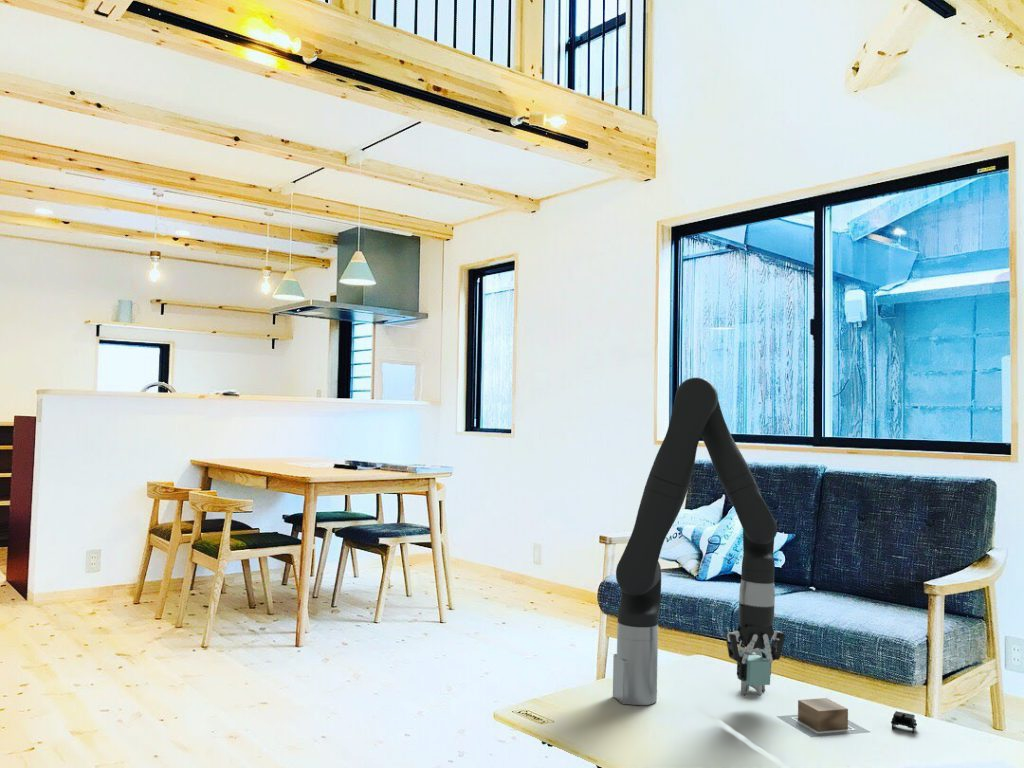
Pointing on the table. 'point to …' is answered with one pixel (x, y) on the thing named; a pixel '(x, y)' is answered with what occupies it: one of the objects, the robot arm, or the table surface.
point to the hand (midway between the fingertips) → (753, 679)
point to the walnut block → (822, 714)
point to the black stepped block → (904, 720)
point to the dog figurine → (756, 687)
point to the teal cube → (757, 671)
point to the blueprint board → (814, 733)
